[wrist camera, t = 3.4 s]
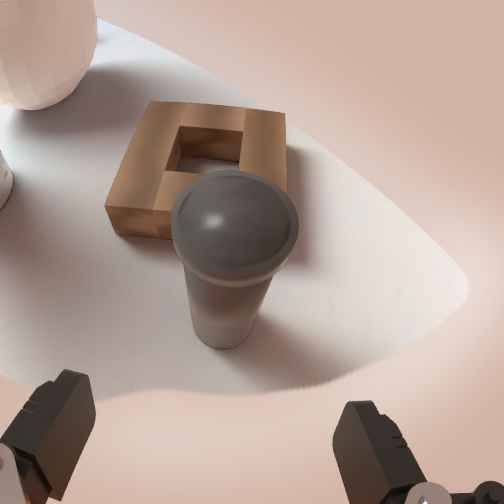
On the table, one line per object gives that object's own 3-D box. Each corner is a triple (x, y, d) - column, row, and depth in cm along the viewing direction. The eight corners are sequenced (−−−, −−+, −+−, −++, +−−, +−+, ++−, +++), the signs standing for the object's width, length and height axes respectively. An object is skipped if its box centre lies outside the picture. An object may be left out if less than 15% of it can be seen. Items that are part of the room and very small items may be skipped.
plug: (184, 349, 22) (158, 267, 11) (193, 286, 25) (183, 165, 14) (253, 356, 23) (299, 282, 11) (257, 293, 25) (296, 178, 14)
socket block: (115, 233, 26) (104, 205, 23) (153, 129, 33) (150, 101, 30) (277, 251, 27) (287, 223, 24) (278, 141, 34) (285, 113, 31)
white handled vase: (-6, 99, 36) (-39, -23, 14) (87, 54, 43) (75, -69, 21) (0, 154, 30) (-59, -16, 8) (122, 91, 37) (110, -81, 15)
